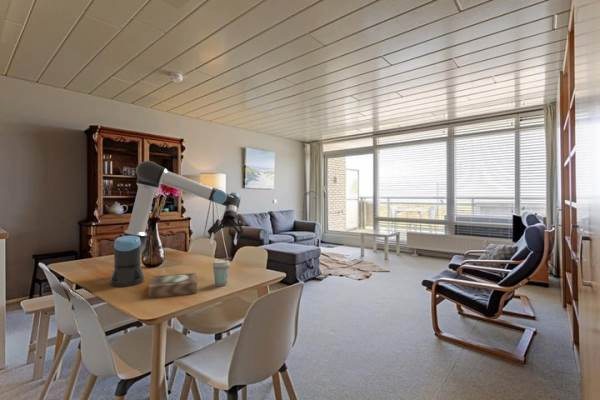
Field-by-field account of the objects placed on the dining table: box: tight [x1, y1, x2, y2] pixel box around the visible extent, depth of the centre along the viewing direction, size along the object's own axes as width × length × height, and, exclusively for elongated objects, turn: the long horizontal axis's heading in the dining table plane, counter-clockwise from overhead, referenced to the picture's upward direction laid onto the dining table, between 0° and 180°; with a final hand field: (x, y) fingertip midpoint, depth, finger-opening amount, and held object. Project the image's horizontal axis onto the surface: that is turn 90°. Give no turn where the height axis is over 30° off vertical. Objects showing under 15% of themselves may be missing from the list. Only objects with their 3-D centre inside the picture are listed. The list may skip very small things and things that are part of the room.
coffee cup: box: [212, 259, 231, 287], centre depth 151 cm, size 8×8×12 cm
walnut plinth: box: [148, 272, 198, 299], centre depth 143 cm, size 20×18×5 cm
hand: (222, 243), depth 162 cm, fingers open, 13 cm apart
